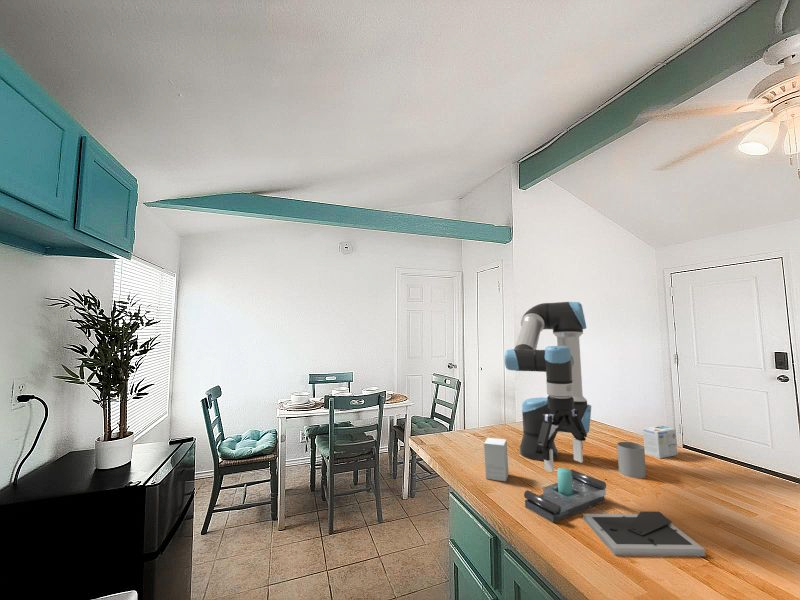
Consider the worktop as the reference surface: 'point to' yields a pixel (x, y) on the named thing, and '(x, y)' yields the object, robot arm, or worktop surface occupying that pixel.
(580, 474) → the plate with side rollers
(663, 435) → the light bulb box
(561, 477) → the pin
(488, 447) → the supplement box
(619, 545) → the picture frame
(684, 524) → the worktop surface
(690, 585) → the worktop surface
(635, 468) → the cup
